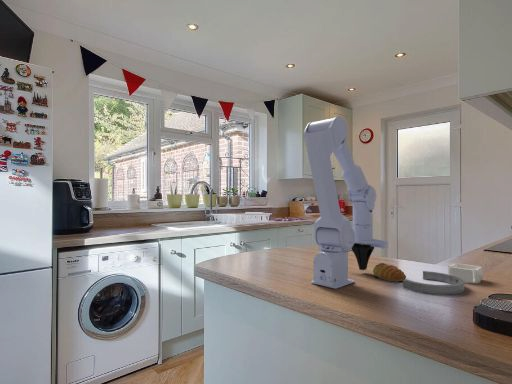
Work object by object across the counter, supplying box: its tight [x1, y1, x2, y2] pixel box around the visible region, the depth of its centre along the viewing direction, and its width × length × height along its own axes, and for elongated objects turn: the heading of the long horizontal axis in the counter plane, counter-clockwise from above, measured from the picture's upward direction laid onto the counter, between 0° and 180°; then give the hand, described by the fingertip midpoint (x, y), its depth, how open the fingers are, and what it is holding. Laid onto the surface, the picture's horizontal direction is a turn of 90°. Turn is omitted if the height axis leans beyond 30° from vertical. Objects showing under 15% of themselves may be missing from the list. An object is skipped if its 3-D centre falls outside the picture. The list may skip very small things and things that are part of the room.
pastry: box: [372, 262, 407, 283], centre depth 92 cm, size 9×7×4 cm
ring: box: [402, 270, 465, 296], centre depth 83 cm, size 15×12×2 cm
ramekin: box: [448, 263, 483, 284], centre depth 90 cm, size 7×7×4 cm
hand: (362, 269), depth 98 cm, fingers closed
